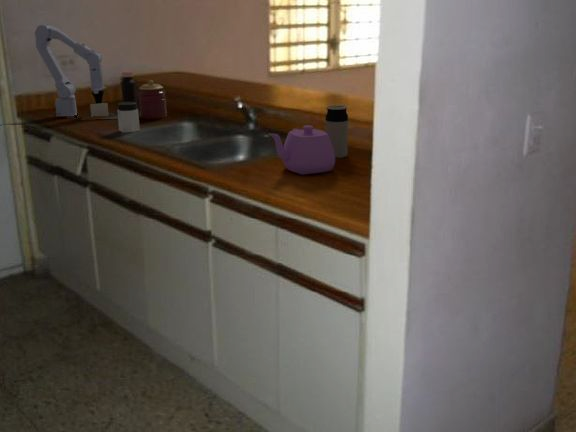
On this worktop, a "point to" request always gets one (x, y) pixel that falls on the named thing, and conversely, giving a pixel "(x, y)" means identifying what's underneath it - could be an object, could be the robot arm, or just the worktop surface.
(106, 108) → the tile
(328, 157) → the teapot
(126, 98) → the bottle
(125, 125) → the jar
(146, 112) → the canister
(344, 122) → the travel mug
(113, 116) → the mat
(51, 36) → the robot arm
